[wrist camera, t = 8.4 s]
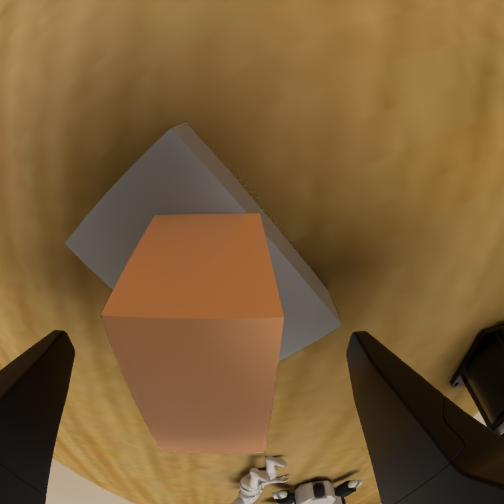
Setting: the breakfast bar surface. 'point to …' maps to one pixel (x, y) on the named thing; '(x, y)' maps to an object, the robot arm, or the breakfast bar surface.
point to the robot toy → (317, 493)
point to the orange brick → (200, 332)
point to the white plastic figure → (259, 481)
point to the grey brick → (197, 202)
